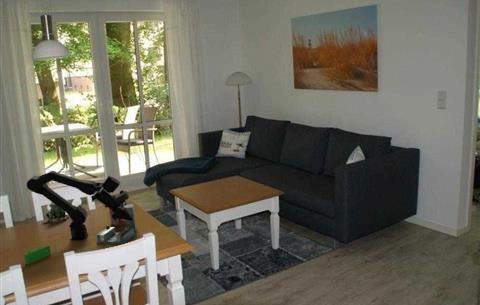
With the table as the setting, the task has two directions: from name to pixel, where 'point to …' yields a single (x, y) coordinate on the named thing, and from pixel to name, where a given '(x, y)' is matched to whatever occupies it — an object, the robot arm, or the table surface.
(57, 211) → the frog figurine
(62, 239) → the table surface
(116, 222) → the beverage can
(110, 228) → the striped teal board
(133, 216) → the steel bar
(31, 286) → the table surface
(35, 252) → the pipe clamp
